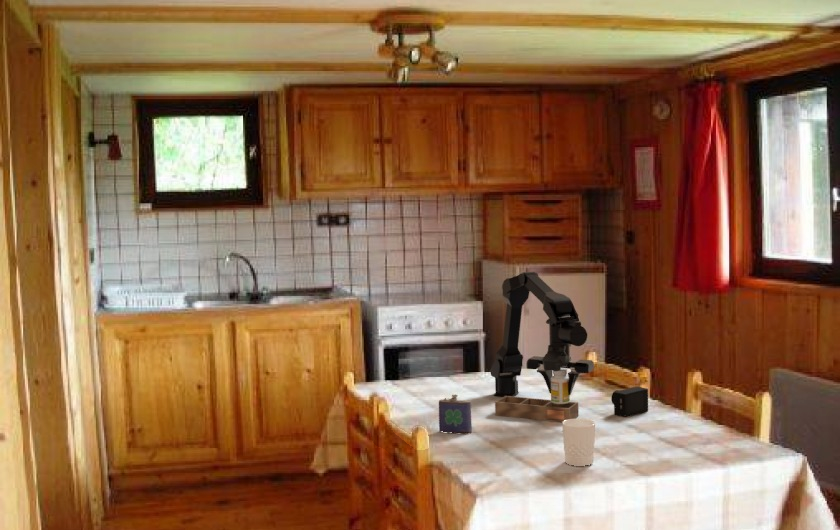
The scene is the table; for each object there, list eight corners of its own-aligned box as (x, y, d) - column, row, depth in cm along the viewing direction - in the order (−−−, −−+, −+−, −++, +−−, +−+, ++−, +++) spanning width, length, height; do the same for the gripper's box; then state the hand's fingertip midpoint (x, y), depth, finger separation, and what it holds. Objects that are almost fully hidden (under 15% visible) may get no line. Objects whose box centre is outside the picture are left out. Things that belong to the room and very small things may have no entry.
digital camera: (633, 408, 268) (633, 385, 268) (648, 411, 264) (648, 388, 264) (610, 414, 262) (610, 390, 262) (625, 417, 258) (625, 394, 257)
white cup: (559, 458, 221) (558, 419, 221) (590, 457, 222) (590, 417, 221) (567, 468, 214) (566, 427, 213) (599, 466, 214) (599, 426, 213)
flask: (472, 431, 248) (471, 393, 247) (470, 434, 245) (469, 396, 244) (440, 430, 251) (439, 392, 250) (437, 433, 248) (436, 395, 247)
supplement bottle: (569, 399, 262) (568, 367, 261) (570, 404, 256) (570, 371, 256) (550, 399, 262) (550, 367, 261) (551, 404, 257) (551, 371, 256)
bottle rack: (494, 415, 265) (494, 402, 264) (505, 408, 272) (505, 395, 272) (569, 422, 254) (568, 409, 254) (578, 415, 261) (578, 402, 261)
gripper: (518, 343, 255) (519, 397, 257) (581, 347, 246) (582, 403, 248) (532, 337, 265) (533, 388, 266) (594, 340, 256) (594, 394, 257)
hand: (560, 393), depth 259 cm, fingers closed on supplement bottle, 5 cm apart
